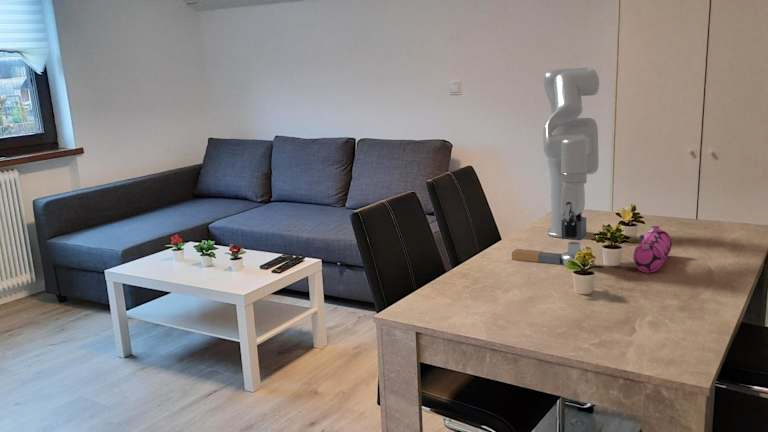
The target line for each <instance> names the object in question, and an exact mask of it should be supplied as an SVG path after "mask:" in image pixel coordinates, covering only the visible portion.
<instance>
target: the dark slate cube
mask: <svg viewBox="0 0 768 432" xmlns="http://www.w3.org/2000/svg"><path fill="white" fill-rule="evenodd" d="M570 218H572V221H573V217H570ZM575 225H576V237H575V238H571V237H566V236H565V218H564V219H563V220H562V237H561V240H569V241H579V242H580V241H582V240H584V239H585V238H586V237H587V217H583V216H582V217H576V219H575Z"/></svg>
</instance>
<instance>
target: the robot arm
mask: <svg viewBox="0 0 768 432" xmlns="http://www.w3.org/2000/svg"><path fill="white" fill-rule="evenodd" d="M543 86H544V91H545V93H546V96H547V99H548V101H549V103H550V111H551V115H549V117H548V118H547V120H546V121H545V124H544V125H543V131H542V141H543V153H544V155H545V156H546V158H547V161H548V162H547V163H548V170H549V177H550V202H551V203H550V210H551V211H550V212H551V214H550V215H551V216H550V219H551V222H550V223H551V225H550V228H548V229H547V231H546V233H547V235H548V236H551V237H555V238H562V220H563V219H564V218H565V236H566V237H571V238H575V237H576V225H575V219H576V217H583V212H584V211H585V205H586V204H585V203H586V199H585V198H586V197H585V196H586V195H585V184H586V183H587V182H588V181H587V176H588V175H594V174H596V173H597V171H598V169H599V164H600V163H599V162H600V161H599V160H600V159H599V158H600V157H599V129H598V127H599V126H598V124H597V121H596V120H595V119H593V118H592V117H580V116H581V114H582V112H583V102H582V97H585V96H596V95H597V94H598V92H599V89H600V78H599V75H598V72H597V71H596V70H595V69H594V68H593V67H572V68H559V69H552V70H549V71H547V72H545V74H544V76H543ZM570 217H573V221H572V218H570Z"/></svg>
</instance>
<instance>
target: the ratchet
mask: <svg viewBox="0 0 768 432" xmlns="http://www.w3.org/2000/svg"><path fill="white" fill-rule="evenodd" d="M578 250H580V251H581V242H580V241H573V240H570V241H569V242H568V244H567V252H564V253H554V252H545V251H543V250H534V249H521V248H515V250H513V251H512V252H511V260H513V261H522V262H531V263H540V262H541V263H543V264H550V265H551V264H552V265H553V264H554V265H559V264H560V265H562V266H563V267H565V264H566V262H567V261H568V260H575V254H576V252H577V251H578ZM541 263H540V264H541Z"/></svg>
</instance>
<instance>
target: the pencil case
mask: <svg viewBox="0 0 768 432" xmlns="http://www.w3.org/2000/svg"><path fill="white" fill-rule="evenodd" d="M639 241H640V243H639V244H638V245H637V246H636V247H635V249H634V252H633V262H634V265H635V267H636V268H637V270H639V271H640V272H642V273H645V274H648V273H649V274H650V273H654V272H656V271H659V269H660V268H661V267H663V265H664V263H665V262H666V260H667V259H668V256H669V255H670V253H671V250H672V246H673V244H672V239H671V237H670V234H669V233H667V232H666V231H665V230H663V229H661V228H660V226H659V225H651V229H649V230H648V231H647V232H646V233H645V234H644V235H643V234H640V237H639Z"/></svg>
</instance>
